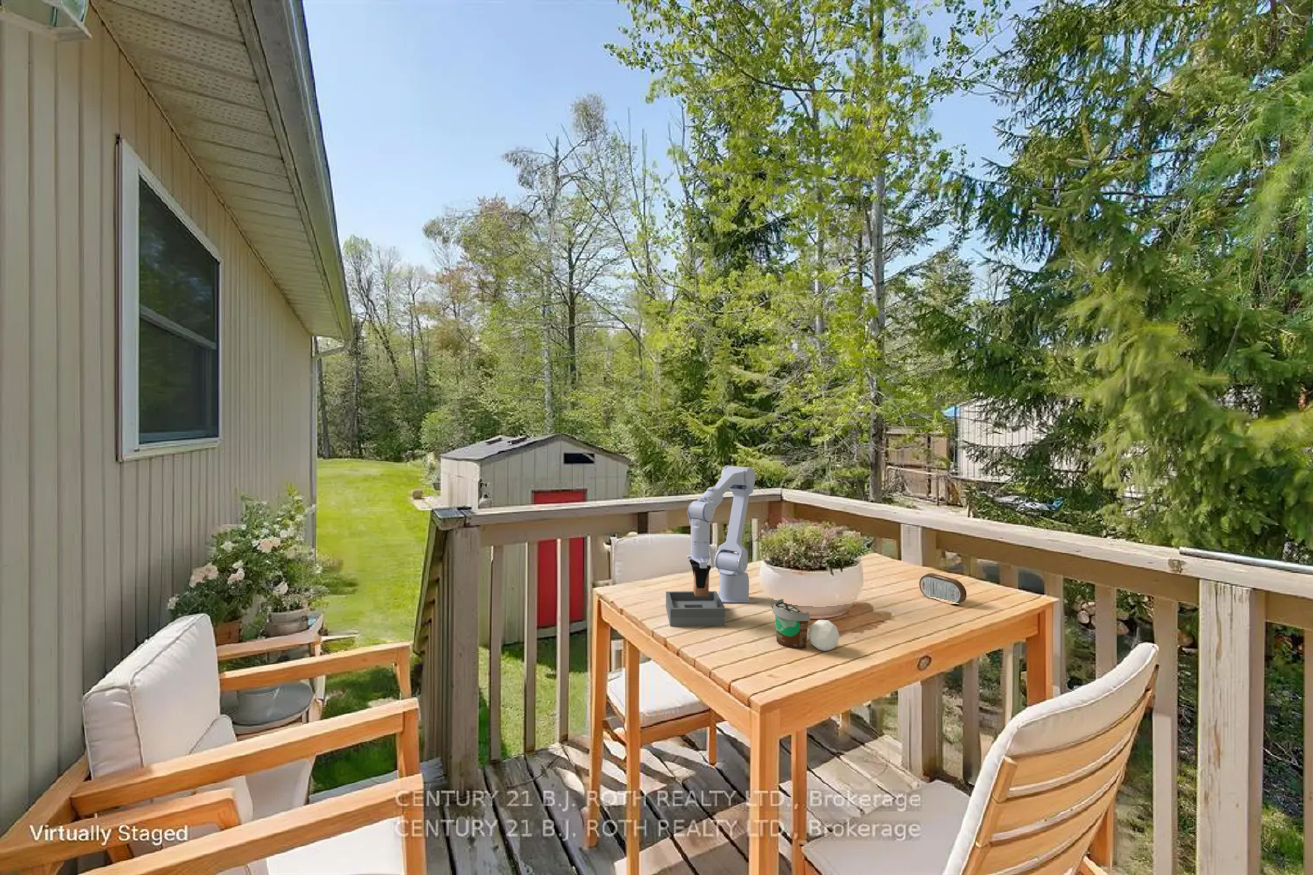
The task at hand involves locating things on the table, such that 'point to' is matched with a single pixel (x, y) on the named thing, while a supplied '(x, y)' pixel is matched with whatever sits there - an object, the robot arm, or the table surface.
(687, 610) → the hole box
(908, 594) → the table surface
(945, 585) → the tin
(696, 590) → the peg
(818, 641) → the ball
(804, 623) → the food container
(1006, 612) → the table surface
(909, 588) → the table surface
